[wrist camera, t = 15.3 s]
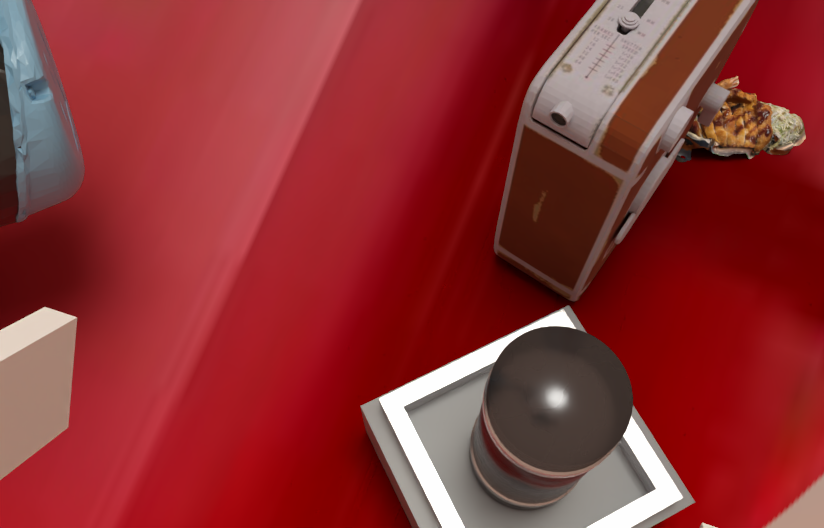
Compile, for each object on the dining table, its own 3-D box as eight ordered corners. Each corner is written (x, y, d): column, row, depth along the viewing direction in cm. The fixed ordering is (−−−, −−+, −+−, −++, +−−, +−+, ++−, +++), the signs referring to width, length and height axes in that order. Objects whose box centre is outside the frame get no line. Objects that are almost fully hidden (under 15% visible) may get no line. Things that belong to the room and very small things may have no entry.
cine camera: (711, 134, 60) (839, -83, 42) (584, 324, 53) (673, 163, 35) (607, 79, 62) (686, -149, 44) (473, 254, 55) (502, 69, 37)
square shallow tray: (461, 631, 45) (468, 630, 39) (366, 431, 50) (360, 406, 44) (662, 517, 47) (695, 502, 42) (552, 339, 52) (568, 304, 47)
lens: (502, 533, 41) (534, 495, 31) (448, 430, 44) (460, 361, 33) (600, 479, 43) (665, 425, 32) (542, 382, 45) (584, 301, 34)
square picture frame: (481, 610, 40) (483, 609, 38) (380, 406, 44) (379, 398, 43) (674, 502, 42) (683, 497, 41) (559, 318, 47) (563, 309, 45)
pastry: (809, 161, 59) (831, 134, 56) (654, 167, 59) (668, 140, 56) (786, 89, 62) (806, 59, 59) (639, 94, 62) (651, 65, 59)
